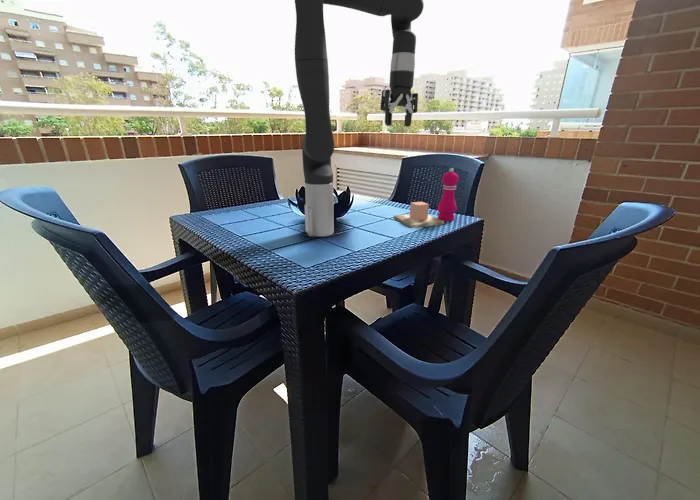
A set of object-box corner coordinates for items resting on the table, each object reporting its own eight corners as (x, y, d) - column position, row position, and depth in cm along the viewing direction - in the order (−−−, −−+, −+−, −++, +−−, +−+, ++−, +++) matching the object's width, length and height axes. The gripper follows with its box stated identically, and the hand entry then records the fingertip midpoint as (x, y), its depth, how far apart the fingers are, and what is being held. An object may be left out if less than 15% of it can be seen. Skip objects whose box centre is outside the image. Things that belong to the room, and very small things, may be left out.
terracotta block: (415, 220, 121) (417, 205, 119) (409, 217, 125) (410, 202, 123) (427, 219, 123) (428, 204, 120) (420, 216, 127) (422, 201, 125)
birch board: (411, 227, 116) (411, 224, 116) (394, 217, 128) (394, 215, 128) (443, 224, 120) (444, 221, 120) (424, 215, 133) (424, 212, 132)
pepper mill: (457, 221, 124) (464, 169, 117) (438, 221, 124) (444, 169, 117) (452, 216, 131) (458, 166, 123) (434, 216, 131) (439, 166, 124)
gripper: (393, 66, 94) (389, 125, 100) (426, 72, 102) (421, 126, 107) (377, 69, 100) (374, 125, 105) (409, 75, 107) (405, 126, 113)
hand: (398, 126), depth 106 cm, fingers open, 8 cm apart
